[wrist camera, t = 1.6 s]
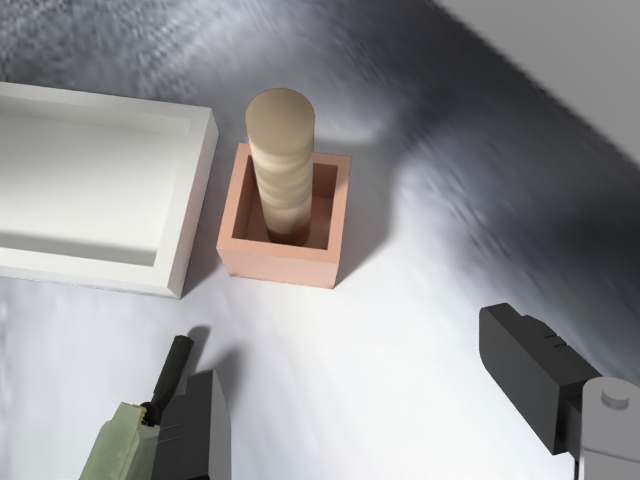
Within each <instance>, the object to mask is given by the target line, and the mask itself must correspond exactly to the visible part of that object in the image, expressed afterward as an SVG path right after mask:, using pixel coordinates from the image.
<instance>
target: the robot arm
mask: <svg viewBox="0 0 640 480" xmlns="http://www.w3.org/2000/svg"><path fill="white" fill-rule="evenodd" d="M479 351H480V356H481V360H482V362H483V364H484V366H485V368H486V370H487V371H488V372H489V374H490V375H491V376H492V378H493V379H494V380H495V381H496V383H497V384H498V385H499V387H500V388H501V389H502V391H503V392H504V393H505V394H506V396H507V397H508V398H509V400H510V401H511V402H512V403H513V405H514V406H515V407H516V409H517V410H518V411H519V413H520V414H521V415H522V416H523V418H524V419H525V420H526V422H527V423H528V424H529V425H530V427H531V428H532V429H533V431H534V432H535V433H536V435H537V436H538V437H539V438H540V440H541V441H542V442H543V444H544V445H545V446H546V448H547V449H548V450H549V451H550V453H551V454H552V455H553V456H554V455H557V454H561V453H565V452H569V453H570V454H571V455H572V456H573V458H574V464H573V480H640V389H639V388H638V387H636V386H635V385H633V384H631V383H629V382H627V381H624V380H621V379H617V378H612V377H603V376H602V375H601V374H600V373H599V372H598V371H597V370H596V369H595V368H594V367H592V366H591V365H590V364H589V363H588V362H587V361H586V360H585V359H584V358H583V357H581V356H580V355H579V354H578V353H577V352H576V351H575V350H574V349H573V348H572V347H570V346H569V345H567V343H566V342H565V341H564V340H563V339H562V338H561V337H559V336H557V334H556V333H555V332H554V331H553V330H552V329H551V328H550V327H548V326H547V325H546V324H545V323H544V322H542V321H539V320H537V319H535V318H533V317H531V316H529V315H525V316H521V315H520V314H519V313H518V312H517V311H516V310H515V309H514V308H512V307H511V306H510V305H509V304H508V303H501V304H497V305H493V306H488V307H484V308H481V310H480V313H479ZM151 480H231V424H230V417H229V412H228V408H227V405H226V401H225V398H224V395H223V391H222V388H221V385H220V381H219V378H218V375H217V372H216V370H215V369H211V370H207V371H202V372H198V373H194V374H189V375H188V379H187V388H186V394H184V395H180V396H176V397H172V399H171V400H170V402H169V403H168V405H167V406H166V408H165V409H164V411H163V413H162V418H161V424H160V431H159V435H158V444H157V447H156V452H155V458H154V464H153V470H152V475H151Z"/></svg>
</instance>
